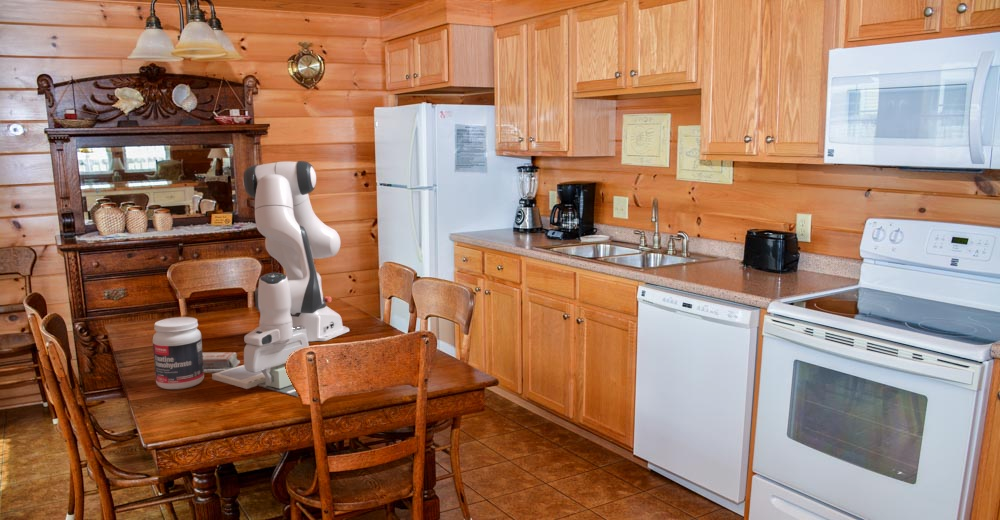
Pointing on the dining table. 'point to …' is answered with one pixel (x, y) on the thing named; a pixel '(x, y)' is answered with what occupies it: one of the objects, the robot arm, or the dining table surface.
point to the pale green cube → (279, 377)
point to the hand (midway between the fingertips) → (279, 379)
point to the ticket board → (249, 380)
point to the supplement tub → (178, 353)
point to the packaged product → (219, 361)
